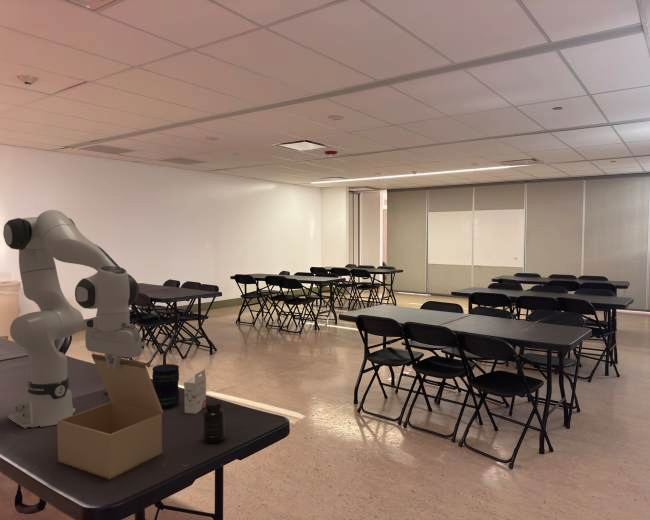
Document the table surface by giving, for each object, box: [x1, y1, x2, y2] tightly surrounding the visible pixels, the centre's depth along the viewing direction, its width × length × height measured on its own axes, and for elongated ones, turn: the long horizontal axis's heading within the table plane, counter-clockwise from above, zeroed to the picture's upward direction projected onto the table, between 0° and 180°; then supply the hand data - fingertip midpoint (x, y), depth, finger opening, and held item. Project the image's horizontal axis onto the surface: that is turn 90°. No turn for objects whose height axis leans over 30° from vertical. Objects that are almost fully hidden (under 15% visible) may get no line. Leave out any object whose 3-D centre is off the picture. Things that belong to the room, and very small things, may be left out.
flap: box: [91, 353, 164, 414], centre depth 142 cm, size 22×18×1 cm
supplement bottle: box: [202, 400, 225, 444], centre depth 151 cm, size 7×7×12 cm
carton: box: [56, 401, 163, 480], centre depth 138 cm, size 22×18×12 cm
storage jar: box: [151, 363, 180, 411], centre depth 182 cm, size 10×10×15 cm
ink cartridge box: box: [183, 369, 207, 415], centre depth 178 cm, size 9×5×15 cm, turn 168°
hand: (113, 369), depth 138 cm, fingers closed, pressing on flap
